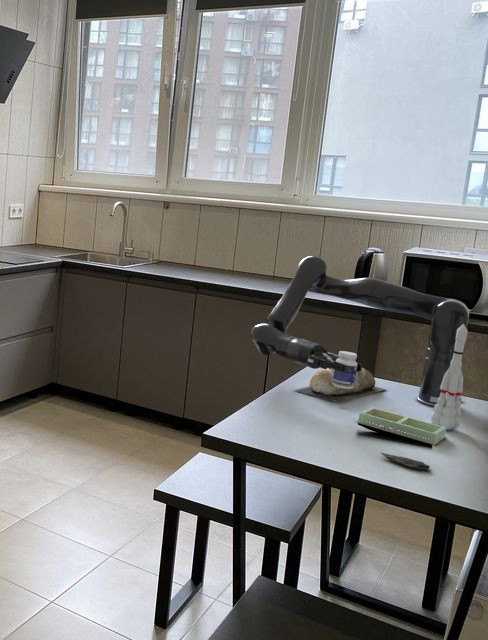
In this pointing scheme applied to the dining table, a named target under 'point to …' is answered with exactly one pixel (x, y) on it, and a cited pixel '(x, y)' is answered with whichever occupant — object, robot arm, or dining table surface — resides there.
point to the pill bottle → (347, 377)
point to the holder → (403, 425)
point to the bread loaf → (326, 389)
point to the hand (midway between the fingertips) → (353, 368)
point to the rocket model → (451, 388)
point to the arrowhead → (407, 462)
